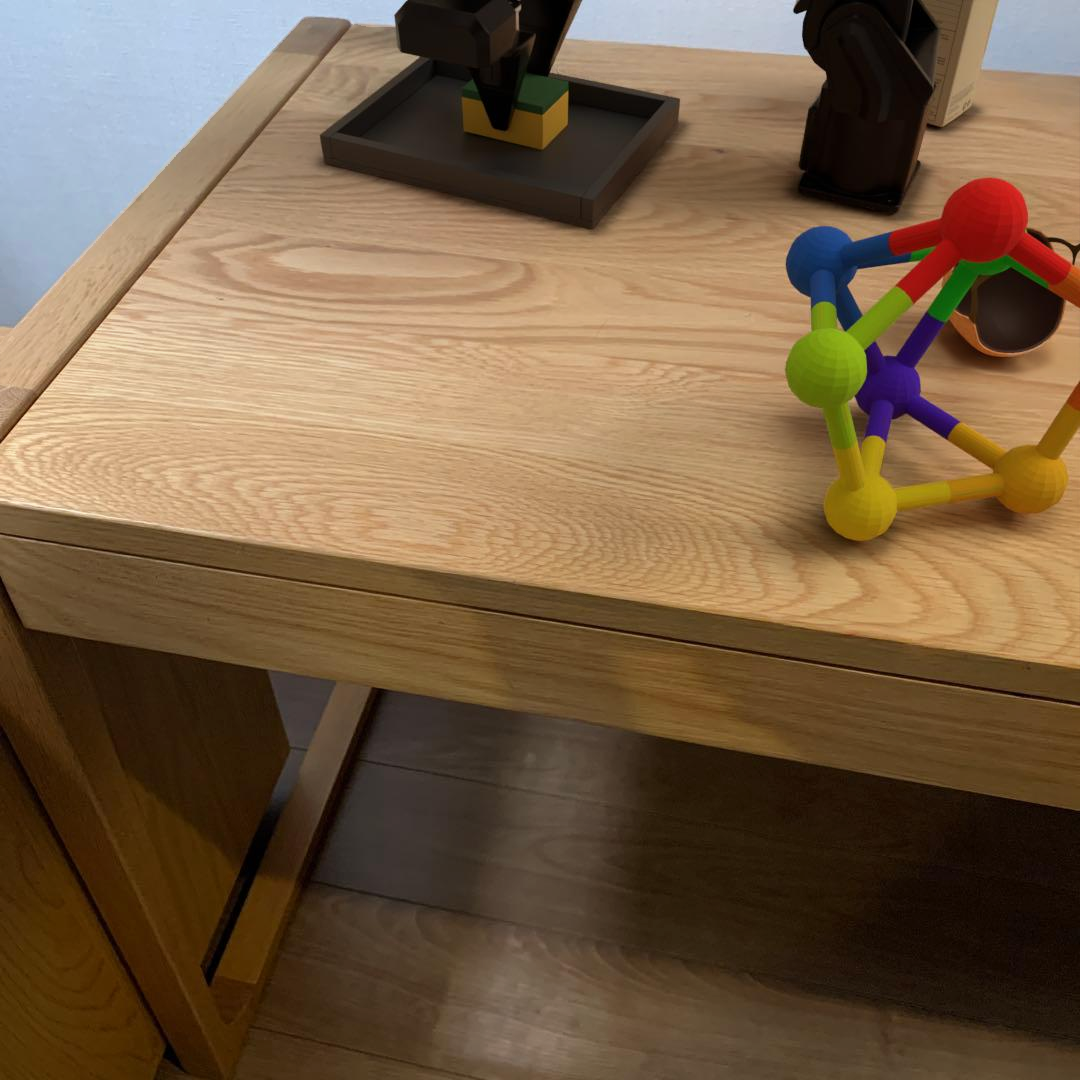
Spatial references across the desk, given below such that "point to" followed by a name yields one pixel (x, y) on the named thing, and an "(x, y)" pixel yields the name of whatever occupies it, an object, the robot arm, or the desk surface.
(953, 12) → the cosmetic box
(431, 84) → the tray
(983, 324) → the helmet
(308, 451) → the desk surface
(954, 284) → the educational toy
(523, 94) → the sponge
